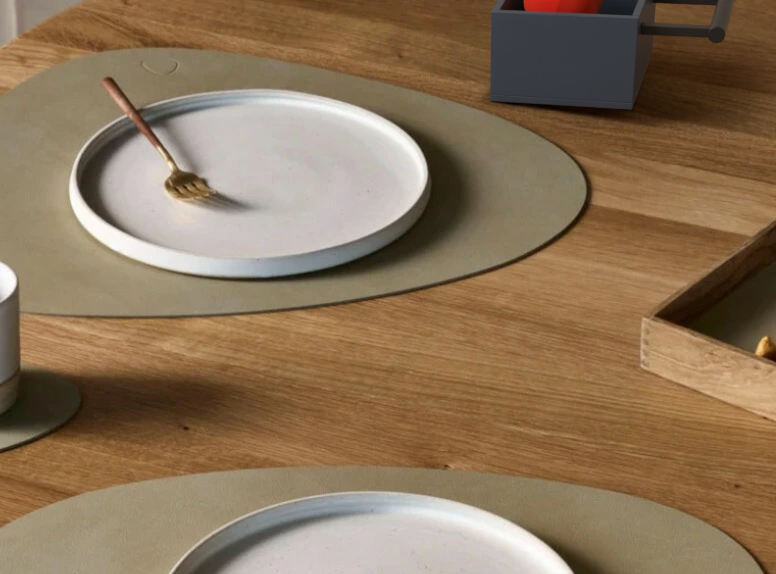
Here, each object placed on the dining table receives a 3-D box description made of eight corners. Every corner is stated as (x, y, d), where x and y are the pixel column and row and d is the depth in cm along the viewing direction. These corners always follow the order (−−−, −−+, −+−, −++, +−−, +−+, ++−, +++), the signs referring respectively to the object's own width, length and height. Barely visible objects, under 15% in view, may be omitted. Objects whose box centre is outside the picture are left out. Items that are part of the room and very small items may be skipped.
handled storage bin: (730, 58, 155) (739, -30, 149) (715, 115, 144) (725, 22, 139) (518, 48, 161) (520, -38, 156) (490, 101, 151) (490, 12, 145)
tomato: (620, -46, 149) (546, -67, 150) (595, 11, 142) (518, -12, 143) (591, 47, 157) (522, 26, 158) (566, 105, 150) (494, 83, 152)
